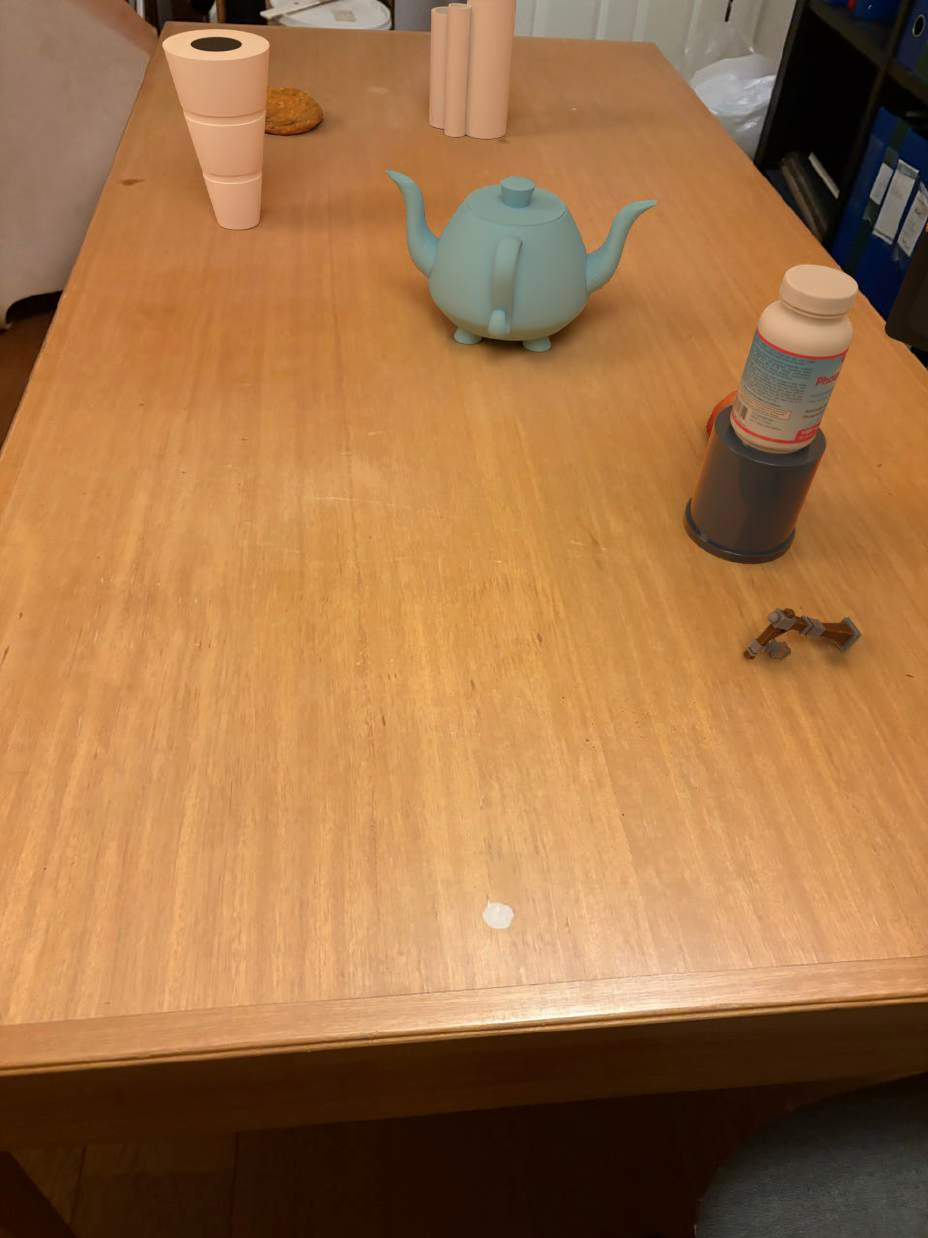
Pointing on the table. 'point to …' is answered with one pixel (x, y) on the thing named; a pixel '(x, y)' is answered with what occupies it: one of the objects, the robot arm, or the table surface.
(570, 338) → the table surface
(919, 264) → the robot arm
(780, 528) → the upturned cup
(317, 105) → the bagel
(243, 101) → the pink tapered cylinder
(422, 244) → the teapot
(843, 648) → the wooden post with brackets
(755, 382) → the pill bottle
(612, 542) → the table surface
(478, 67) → the vase
